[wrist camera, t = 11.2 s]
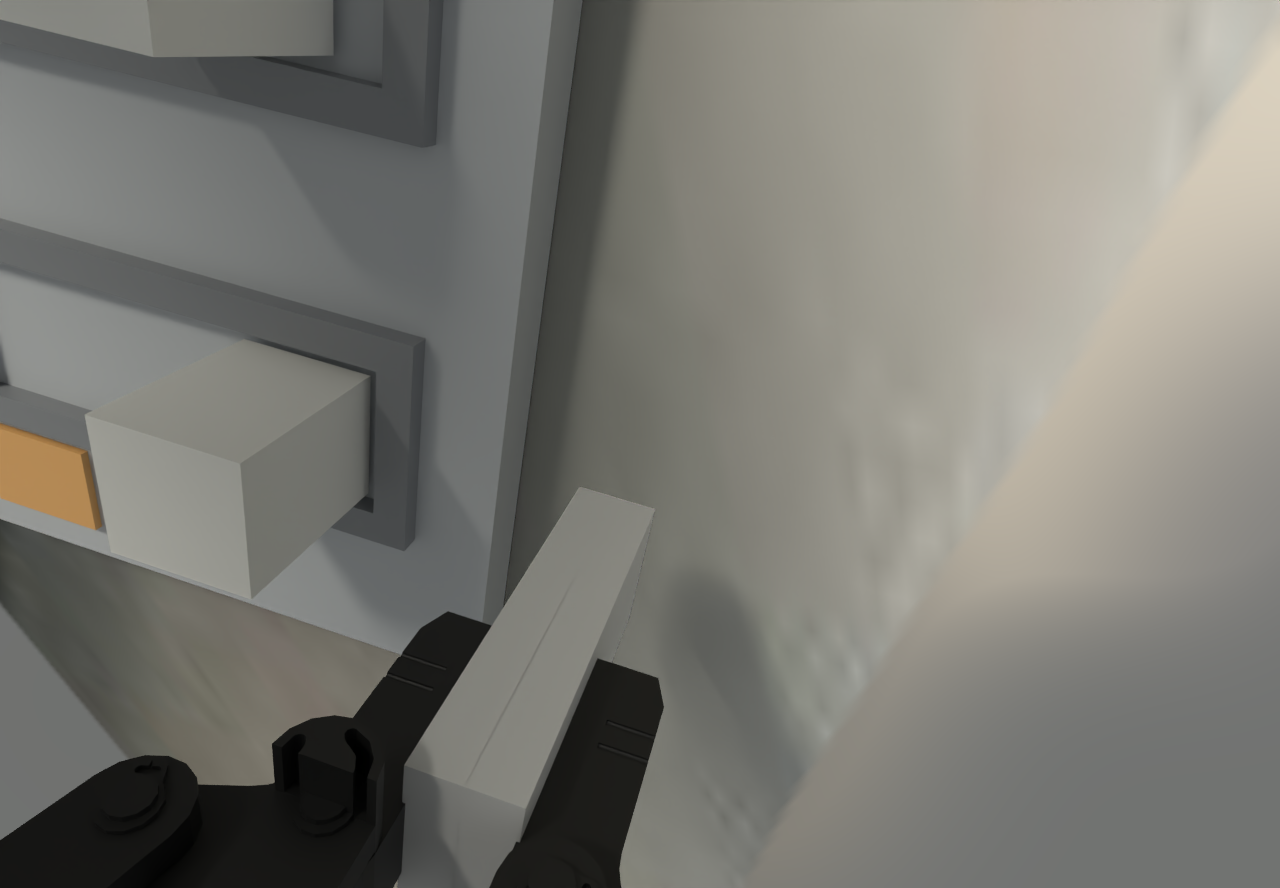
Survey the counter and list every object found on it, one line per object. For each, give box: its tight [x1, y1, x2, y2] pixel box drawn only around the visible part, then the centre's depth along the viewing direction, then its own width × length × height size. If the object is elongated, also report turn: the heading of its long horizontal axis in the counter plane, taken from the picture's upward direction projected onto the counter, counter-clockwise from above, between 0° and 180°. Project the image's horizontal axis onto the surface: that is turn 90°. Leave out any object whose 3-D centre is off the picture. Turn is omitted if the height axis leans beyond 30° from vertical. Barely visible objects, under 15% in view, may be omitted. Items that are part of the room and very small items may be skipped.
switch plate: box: [0, 0, 583, 655], centre depth 16 cm, size 16×22×2 cm
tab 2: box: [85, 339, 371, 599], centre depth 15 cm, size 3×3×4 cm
